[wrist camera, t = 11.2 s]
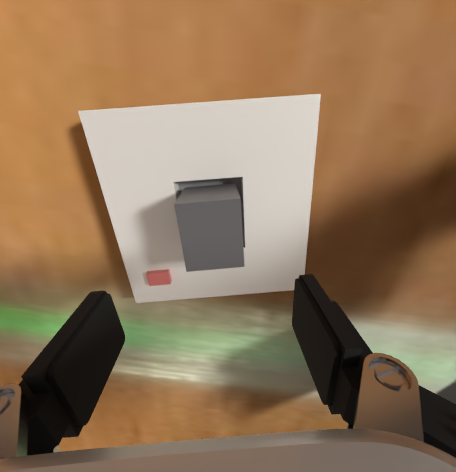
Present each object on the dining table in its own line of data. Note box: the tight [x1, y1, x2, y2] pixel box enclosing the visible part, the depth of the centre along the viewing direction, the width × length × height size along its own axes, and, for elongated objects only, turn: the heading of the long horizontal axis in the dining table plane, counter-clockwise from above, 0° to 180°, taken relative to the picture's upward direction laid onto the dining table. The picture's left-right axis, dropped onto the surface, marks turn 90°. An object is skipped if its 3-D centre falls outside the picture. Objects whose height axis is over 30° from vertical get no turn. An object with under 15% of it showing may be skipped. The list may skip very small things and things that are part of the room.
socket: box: [78, 94, 321, 303], centre depth 23 cm, size 20×20×4 cm
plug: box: [174, 183, 244, 272], centre depth 21 cm, size 5×6×7 cm
